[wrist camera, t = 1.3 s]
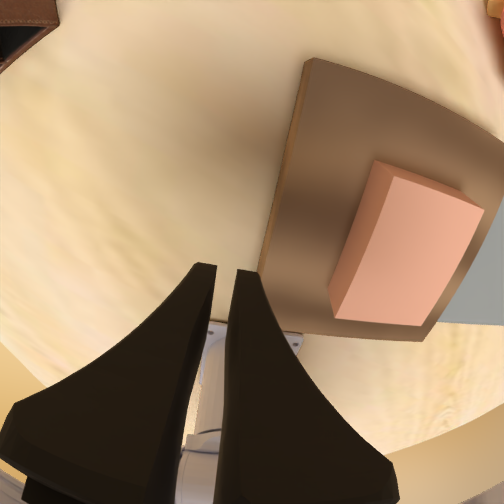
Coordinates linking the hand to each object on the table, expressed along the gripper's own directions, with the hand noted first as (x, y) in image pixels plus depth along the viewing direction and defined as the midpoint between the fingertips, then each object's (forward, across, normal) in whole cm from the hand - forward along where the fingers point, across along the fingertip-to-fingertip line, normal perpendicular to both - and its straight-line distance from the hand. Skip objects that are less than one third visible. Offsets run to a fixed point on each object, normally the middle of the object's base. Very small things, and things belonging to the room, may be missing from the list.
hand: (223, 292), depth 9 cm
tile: (+6, -9, 0) cm, 11 cm away
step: (+9, -9, 0) cm, 13 cm away
